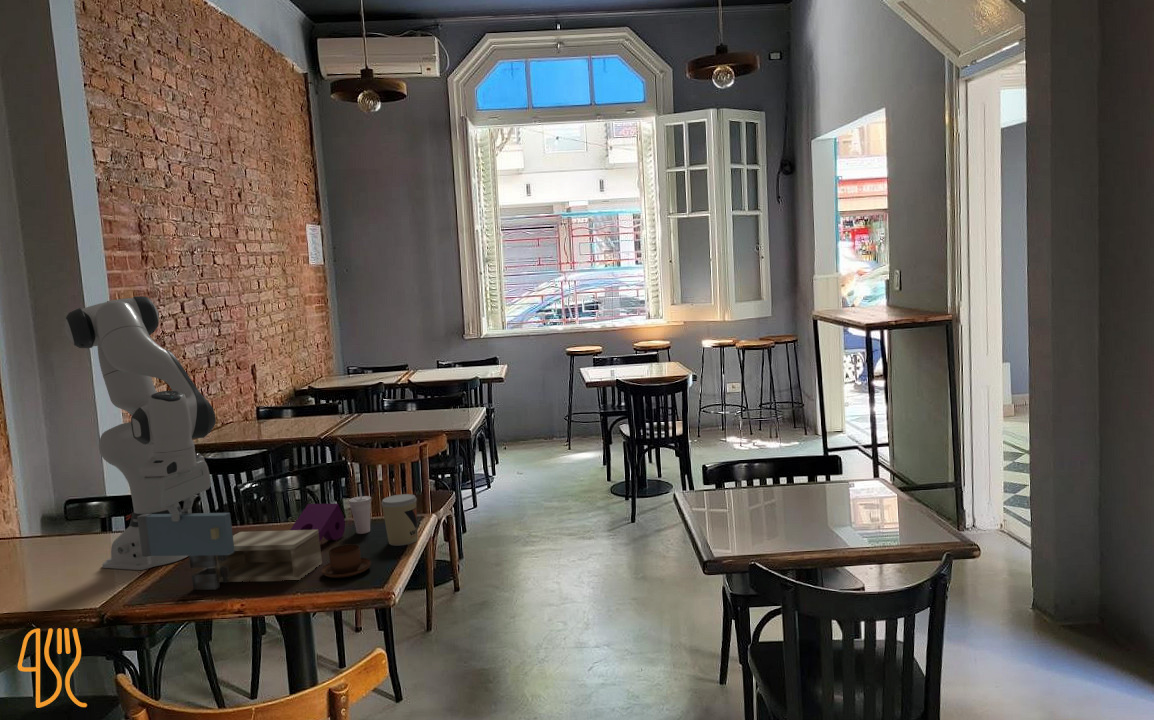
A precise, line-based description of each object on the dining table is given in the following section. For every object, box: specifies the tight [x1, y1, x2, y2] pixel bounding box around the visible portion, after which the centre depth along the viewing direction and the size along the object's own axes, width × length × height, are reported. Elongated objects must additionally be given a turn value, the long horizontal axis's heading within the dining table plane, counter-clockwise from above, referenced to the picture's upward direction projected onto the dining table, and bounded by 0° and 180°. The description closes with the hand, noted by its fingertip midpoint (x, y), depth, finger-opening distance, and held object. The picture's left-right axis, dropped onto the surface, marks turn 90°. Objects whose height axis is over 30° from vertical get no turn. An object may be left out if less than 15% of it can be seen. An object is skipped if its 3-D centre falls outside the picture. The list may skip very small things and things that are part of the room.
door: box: [137, 512, 235, 557], centre depth 201 cm, size 23×4×10 cm, turn 79°
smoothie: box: [348, 483, 372, 535], centre depth 244 cm, size 6×6×14 cm
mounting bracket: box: [289, 503, 346, 542], centre depth 236 cm, size 10×9×19 cm
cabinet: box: [188, 529, 323, 591], centre depth 212 cm, size 25×17×9 cm
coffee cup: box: [381, 493, 418, 547], centre depth 232 cm, size 9×9×12 cm
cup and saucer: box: [320, 543, 372, 579], centre depth 210 cm, size 12×12×6 cm
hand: (182, 518), depth 201 cm, fingers closed on door, 2 cm apart
